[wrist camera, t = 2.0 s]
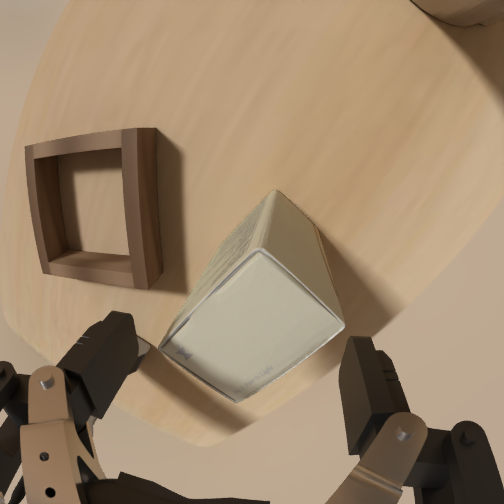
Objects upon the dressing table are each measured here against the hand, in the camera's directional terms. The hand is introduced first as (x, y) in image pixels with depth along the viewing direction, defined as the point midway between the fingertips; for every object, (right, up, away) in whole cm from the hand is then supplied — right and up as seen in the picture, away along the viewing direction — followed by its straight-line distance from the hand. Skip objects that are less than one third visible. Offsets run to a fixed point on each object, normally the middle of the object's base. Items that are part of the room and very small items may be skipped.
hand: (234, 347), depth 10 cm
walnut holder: (-12, +7, +12) cm, 18 cm away
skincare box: (+2, +5, +11) cm, 12 cm away
